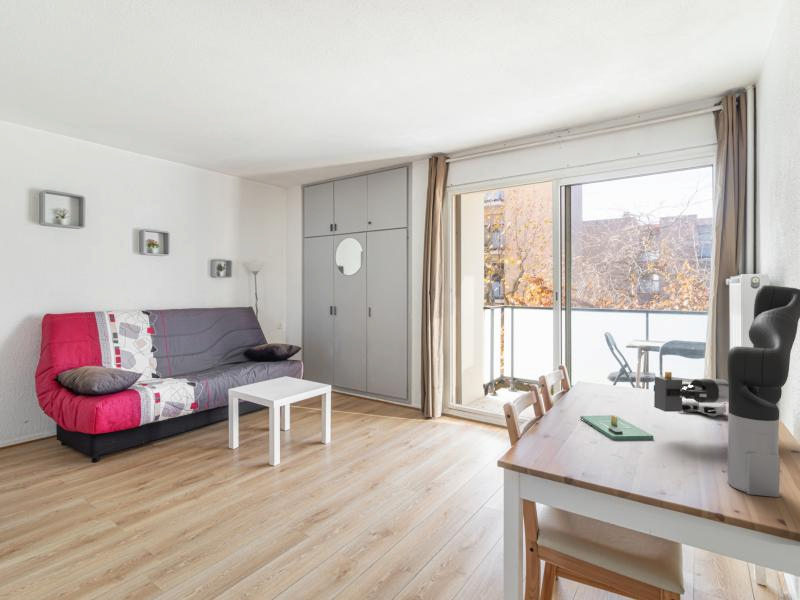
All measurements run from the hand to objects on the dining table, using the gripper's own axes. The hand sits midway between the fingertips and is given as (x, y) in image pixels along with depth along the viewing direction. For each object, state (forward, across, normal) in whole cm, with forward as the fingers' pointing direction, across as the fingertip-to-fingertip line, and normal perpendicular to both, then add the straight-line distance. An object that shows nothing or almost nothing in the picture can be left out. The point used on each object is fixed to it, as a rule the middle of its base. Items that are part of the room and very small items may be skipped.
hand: (660, 390), depth 136 cm
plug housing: (-3, 0, +6) cm, 7 cm away
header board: (+11, -8, +15) cm, 20 cm away
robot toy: (-33, -25, +14) cm, 44 cm away
